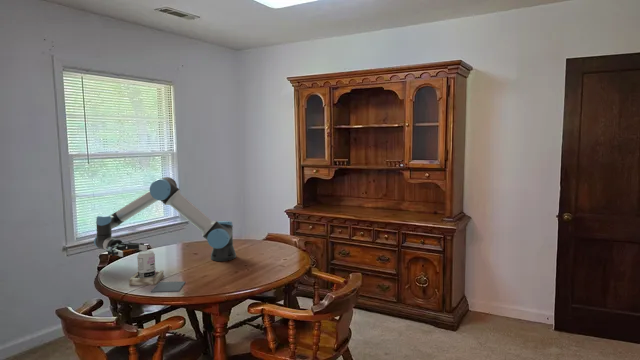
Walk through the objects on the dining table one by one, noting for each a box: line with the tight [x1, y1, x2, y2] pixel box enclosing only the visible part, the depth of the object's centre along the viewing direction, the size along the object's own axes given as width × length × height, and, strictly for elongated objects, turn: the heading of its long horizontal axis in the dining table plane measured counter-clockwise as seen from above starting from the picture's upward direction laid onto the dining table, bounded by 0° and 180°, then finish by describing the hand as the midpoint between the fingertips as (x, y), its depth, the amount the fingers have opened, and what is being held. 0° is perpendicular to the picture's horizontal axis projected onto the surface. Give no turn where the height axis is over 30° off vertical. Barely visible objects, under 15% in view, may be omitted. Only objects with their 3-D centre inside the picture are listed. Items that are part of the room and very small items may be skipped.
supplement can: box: [136, 250, 156, 278], centre depth 218 cm, size 8×8×15 cm
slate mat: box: [150, 281, 186, 293], centre depth 208 cm, size 13×13×1 cm
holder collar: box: [128, 270, 165, 286], centre depth 218 cm, size 13×13×3 cm
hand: (134, 251), depth 223 cm, fingers open, 13 cm apart
